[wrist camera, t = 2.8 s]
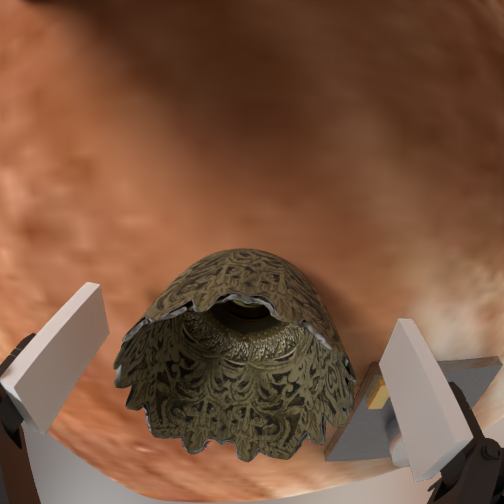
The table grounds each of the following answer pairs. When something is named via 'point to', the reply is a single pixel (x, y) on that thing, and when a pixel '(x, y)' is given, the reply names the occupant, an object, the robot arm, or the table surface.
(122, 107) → the table surface
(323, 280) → the table surface
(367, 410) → the grey plate with knob
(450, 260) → the table surface
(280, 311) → the scalloped lamp shade
